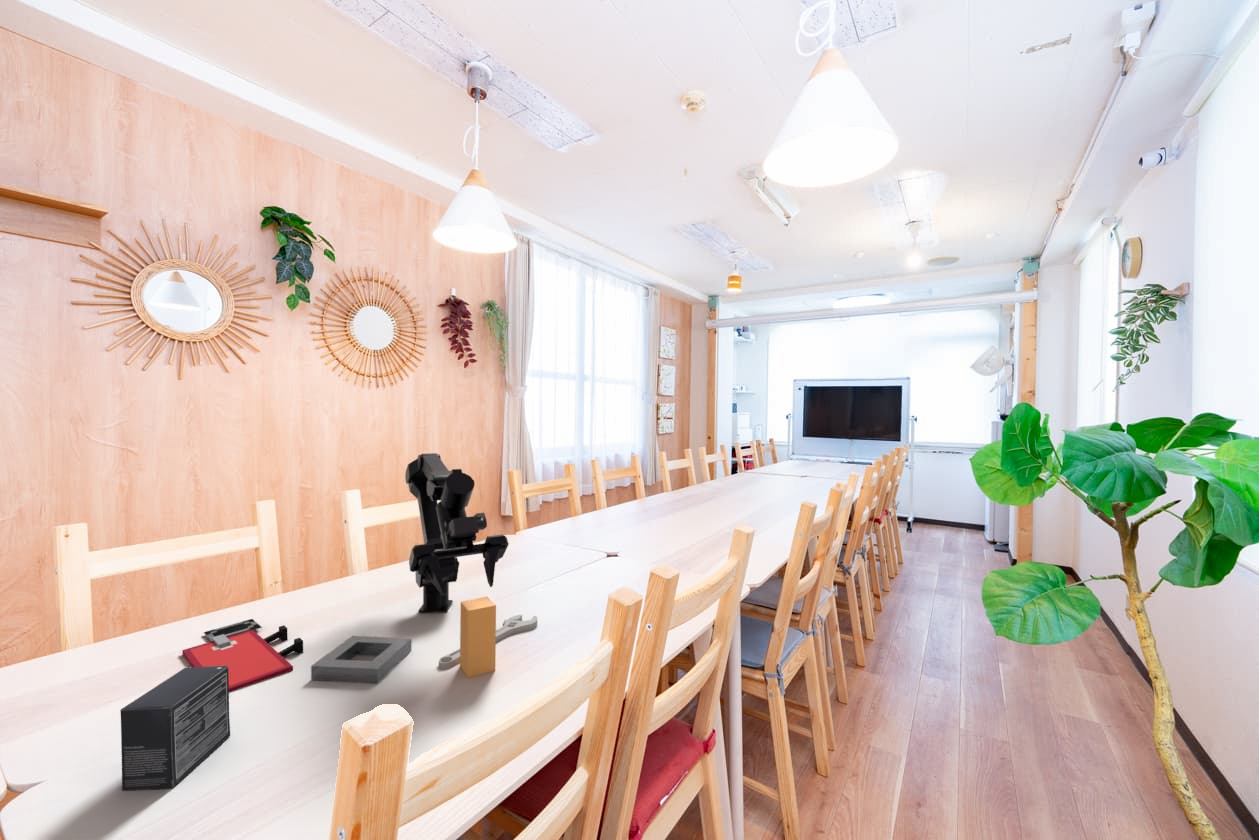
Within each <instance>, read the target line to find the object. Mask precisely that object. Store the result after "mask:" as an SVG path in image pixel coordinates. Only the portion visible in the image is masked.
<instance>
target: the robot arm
mask: <svg viewBox="0 0 1259 840" xmlns="http://www.w3.org/2000/svg"><path fill="white" fill-rule="evenodd" d="M404 477H405V483H406V485H407V484H408V491H409V493H410V494H411V495H413V496H414V497H415V498H416V499H417V505H418V511H419V516H420V523H421V530H422V536H423V537H422V538H423V544H416V545H414V546H413V547H412V549H411V551H410V555H409V559H408V567H409V571H410V572H412V573H415V583H416V584H417V586H418V588H423V589H422V591H423V593H422V600H423V601H422V605H421V606H420V608H419V609H418V610H417V611H418V614H422V613H423V614H424V613H427V614H428V613H447V612H448V611H449V609H450V607H451V606H452V605H453V602H454V601H453V599H449V598H450V596H449V595H450V594H449V593H450V589H449V588H450V583H455V582H456V583H457V580H458V574H459V568H460V561H459V560H458V557H459V558H460V557H466V556H467V557H468V556H473V555H474V556H475V555H481V554H482V558H483V559H484V561H483V567H484V571H485V575H486V579H487V583H488V585H489V587H490V588H492V587H493V586H494V580H495V571H496V570H495V569H496V563H497V562H499V560H500V559H503V557H504V556H505V553H506V552H507V551H506V550H507V549H508V547H509V540H508V538H507V536H506V535H504V534H495V535H487V536H486V539H485V541H484V543H478V544H474V542H475V541H477V534H478V533H479V532H480V531H483V530H485V529H486V528H487V527H488V523H487V522H488V521H487V517H486V514H485V512H477V513H475V514H474V515H473V516H468V515H467V512H466V511H467V510H466V507H468V506H469V503H470V500H471V496H472V495H473V491H474V488H475V484H476V483H475V480H474V479H473V478H472V476H470V475H469V474H467V473H464V472H463V470H462V468H454V469H451V470H449V469H448V467H447V466H446V465H445V463H443V461H442V459H441V454H439V453H436V452H434V453H430V452H429V453H421V454H418V456H417V458H416V459H414V460H413V461H411V462H409V463H408V464H407V466H406V470H405V475H404ZM438 501H439V502H438Z"/></svg>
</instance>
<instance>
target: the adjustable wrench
mask: <svg viewBox="0 0 1259 840" xmlns="http://www.w3.org/2000/svg"><path fill="white" fill-rule="evenodd" d="M537 626H538V616H536V615H533V616H532V618H530V619H528V620H523V614H517V615H513V616H510V617H509V618H507V619H504V621H503V622H502V626H501V627H500V628H498V629H496V643H498V642H500V641H501V640H503V639H505V638H506V637H508V636H510V635H515V634H517V633H522V632H526V631H530V630H533V629H535V628H537ZM458 663H459V664H460V648H458V649H456V650H454V651H452V652H450V653H449V654H446V655H444V656H442V657H440V658H439V660H438V667H439V668H441V669H449V668H452V667H453V666H455V665H456V664H458Z"/></svg>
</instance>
